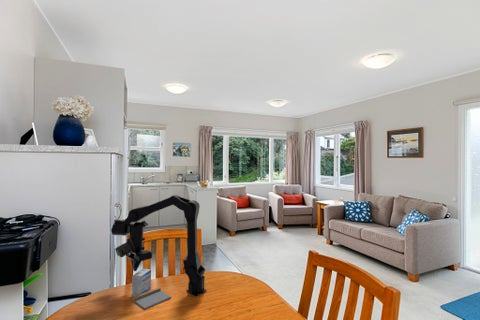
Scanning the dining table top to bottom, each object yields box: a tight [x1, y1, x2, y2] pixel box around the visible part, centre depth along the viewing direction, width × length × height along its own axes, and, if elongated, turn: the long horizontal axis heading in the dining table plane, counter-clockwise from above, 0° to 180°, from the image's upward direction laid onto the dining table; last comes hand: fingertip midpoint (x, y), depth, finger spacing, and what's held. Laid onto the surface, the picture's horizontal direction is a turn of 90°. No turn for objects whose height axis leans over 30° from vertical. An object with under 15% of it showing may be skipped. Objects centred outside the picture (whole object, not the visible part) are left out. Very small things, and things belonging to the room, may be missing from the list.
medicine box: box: [131, 268, 152, 297], centre depth 113 cm, size 8×4×9 cm, turn 168°
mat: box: [132, 286, 172, 311], centre depth 107 cm, size 12×9×2 cm
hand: (135, 270), depth 117 cm, fingers closed
